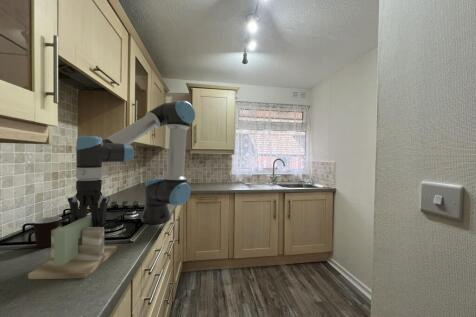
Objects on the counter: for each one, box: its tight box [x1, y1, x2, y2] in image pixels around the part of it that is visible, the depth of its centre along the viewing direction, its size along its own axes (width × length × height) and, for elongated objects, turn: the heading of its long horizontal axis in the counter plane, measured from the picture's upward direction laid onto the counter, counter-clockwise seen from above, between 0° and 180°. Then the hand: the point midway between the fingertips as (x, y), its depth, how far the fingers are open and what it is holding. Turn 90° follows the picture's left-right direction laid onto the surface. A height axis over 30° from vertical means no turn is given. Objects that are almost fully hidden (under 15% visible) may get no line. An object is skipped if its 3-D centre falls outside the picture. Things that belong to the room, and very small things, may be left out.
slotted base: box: [27, 226, 118, 280], centre depth 71 cm, size 18×16×12 cm
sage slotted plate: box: [54, 214, 93, 264], centre depth 71 cm, size 16×3×10 cm, turn 3°
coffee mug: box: [32, 216, 63, 249], centre depth 85 cm, size 12×9×10 cm
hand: (88, 243), depth 76 cm, fingers closed on sage slotted plate, 3 cm apart
